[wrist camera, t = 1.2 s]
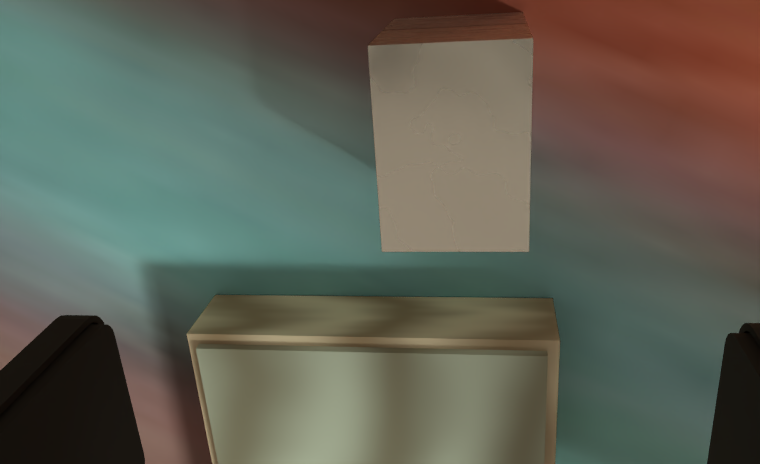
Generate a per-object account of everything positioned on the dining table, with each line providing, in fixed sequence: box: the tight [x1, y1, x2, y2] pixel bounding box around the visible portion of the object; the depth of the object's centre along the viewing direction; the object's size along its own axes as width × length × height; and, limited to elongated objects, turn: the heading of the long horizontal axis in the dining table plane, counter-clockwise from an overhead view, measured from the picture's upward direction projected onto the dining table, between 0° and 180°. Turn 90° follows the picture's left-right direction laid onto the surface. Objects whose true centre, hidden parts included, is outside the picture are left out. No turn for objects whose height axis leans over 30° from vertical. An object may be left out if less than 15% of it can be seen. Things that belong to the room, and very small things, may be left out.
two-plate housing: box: [368, 12, 533, 252], centre depth 26 cm, size 5×7×7 cm
